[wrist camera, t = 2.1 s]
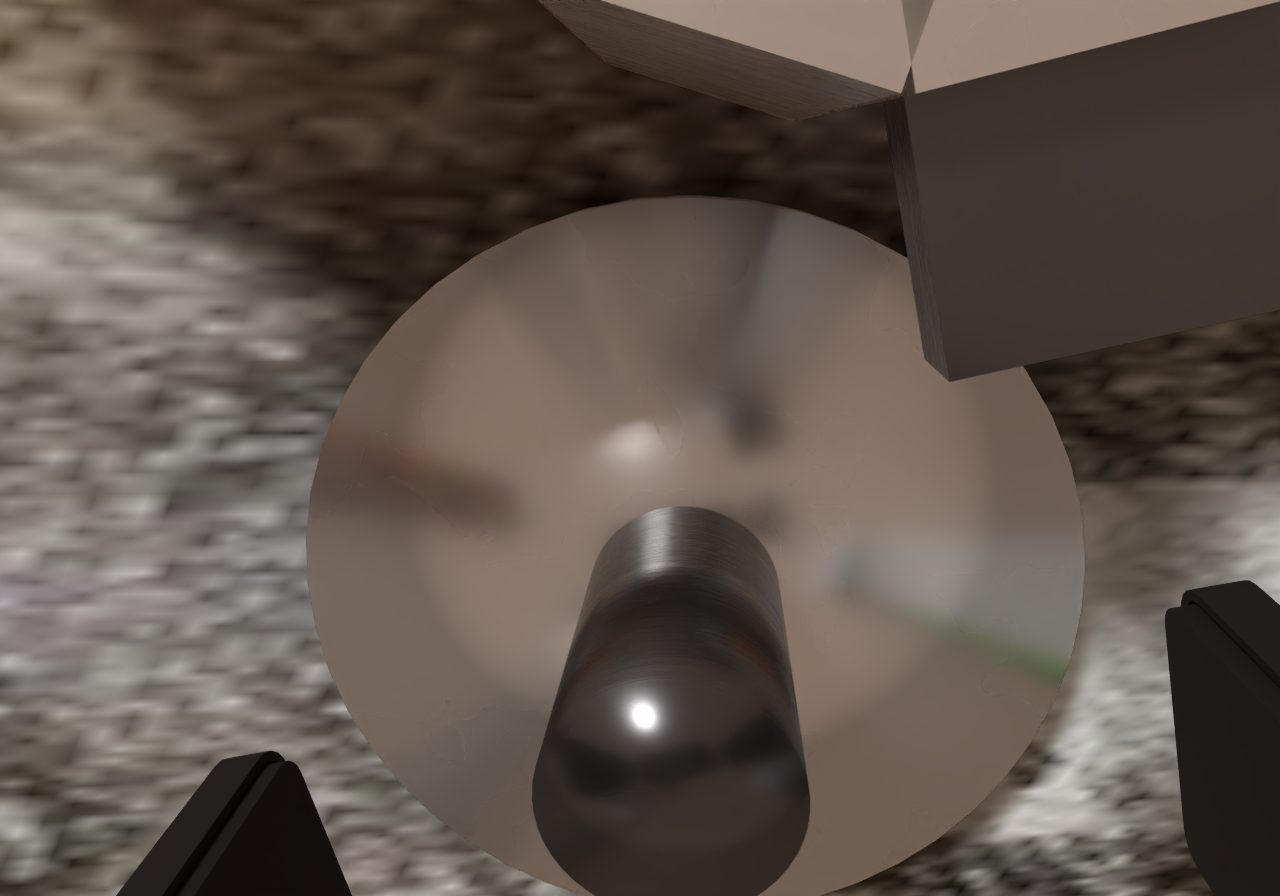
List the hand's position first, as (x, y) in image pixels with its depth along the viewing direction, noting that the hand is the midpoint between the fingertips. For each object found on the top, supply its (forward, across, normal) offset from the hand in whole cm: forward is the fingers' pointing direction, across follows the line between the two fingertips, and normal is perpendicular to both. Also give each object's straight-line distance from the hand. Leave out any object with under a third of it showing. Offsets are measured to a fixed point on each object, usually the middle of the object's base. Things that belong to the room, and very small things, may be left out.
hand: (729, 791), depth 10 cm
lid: (+8, +1, +1) cm, 8 cm away
